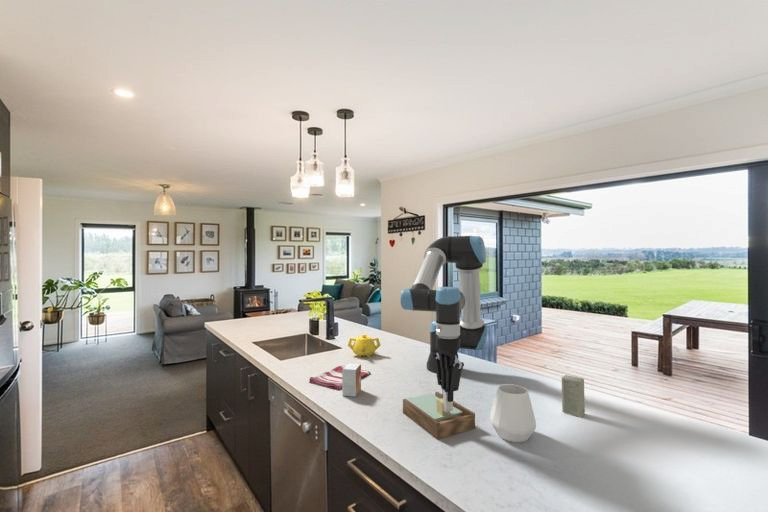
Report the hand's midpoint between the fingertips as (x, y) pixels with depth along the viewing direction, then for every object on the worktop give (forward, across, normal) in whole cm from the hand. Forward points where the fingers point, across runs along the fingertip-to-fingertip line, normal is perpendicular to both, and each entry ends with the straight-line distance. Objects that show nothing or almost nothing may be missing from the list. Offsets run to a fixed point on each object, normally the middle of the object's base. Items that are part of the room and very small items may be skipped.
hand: (447, 410), depth 114 cm
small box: (+6, -40, -16) cm, 44 cm away
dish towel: (+6, -58, -14) cm, 60 cm away
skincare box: (+6, +12, +45) cm, 47 cm away
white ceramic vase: (+6, +13, +15) cm, 20 cm away
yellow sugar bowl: (+6, -86, +10) cm, 87 cm away
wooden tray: (+5, -5, 0) cm, 8 cm away
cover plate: (+2, -9, 0) cm, 9 cm away
